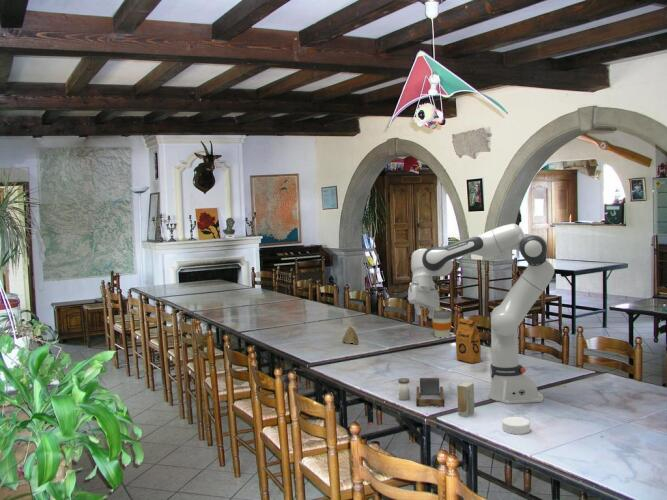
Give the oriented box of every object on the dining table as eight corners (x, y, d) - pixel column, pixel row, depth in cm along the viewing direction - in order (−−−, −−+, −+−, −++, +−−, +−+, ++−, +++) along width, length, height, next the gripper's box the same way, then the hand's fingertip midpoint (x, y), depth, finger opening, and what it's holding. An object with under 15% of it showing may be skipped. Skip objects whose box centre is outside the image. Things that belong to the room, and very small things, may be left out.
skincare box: (465, 410, 263) (464, 381, 262) (474, 412, 260) (474, 382, 259) (457, 415, 258) (456, 384, 257) (467, 417, 255) (466, 386, 254)
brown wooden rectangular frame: (442, 393, 287) (442, 386, 287) (444, 406, 269) (444, 399, 269) (416, 393, 289) (416, 386, 288) (416, 406, 271) (416, 399, 270)
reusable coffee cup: (431, 338, 398) (431, 314, 397) (432, 334, 410) (431, 310, 409) (452, 338, 396) (452, 314, 395) (452, 334, 408) (451, 310, 407)
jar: (410, 397, 283) (409, 378, 283) (409, 400, 279) (409, 381, 278) (398, 397, 284) (398, 378, 283) (398, 400, 279) (398, 381, 279)
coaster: (534, 434, 236) (534, 424, 235) (507, 435, 235) (507, 426, 234) (524, 424, 245) (524, 415, 245) (498, 426, 245) (498, 417, 244)
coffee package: (469, 364, 333) (468, 322, 332) (453, 360, 344) (452, 319, 342) (484, 361, 338) (483, 320, 337) (468, 357, 349) (467, 316, 347)
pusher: (439, 390, 290) (438, 375, 290) (439, 394, 285) (439, 378, 285) (420, 390, 291) (419, 375, 291) (420, 394, 286) (419, 378, 286)
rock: (363, 340, 390) (358, 335, 399) (355, 330, 387) (350, 325, 396) (349, 352, 389) (344, 346, 398) (341, 342, 386) (336, 336, 395)
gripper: (415, 279, 275) (418, 311, 270) (440, 288, 290) (443, 318, 285) (403, 282, 278) (405, 313, 274) (428, 290, 294) (431, 321, 289)
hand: (425, 316), depth 280 cm, fingers open, 8 cm apart
